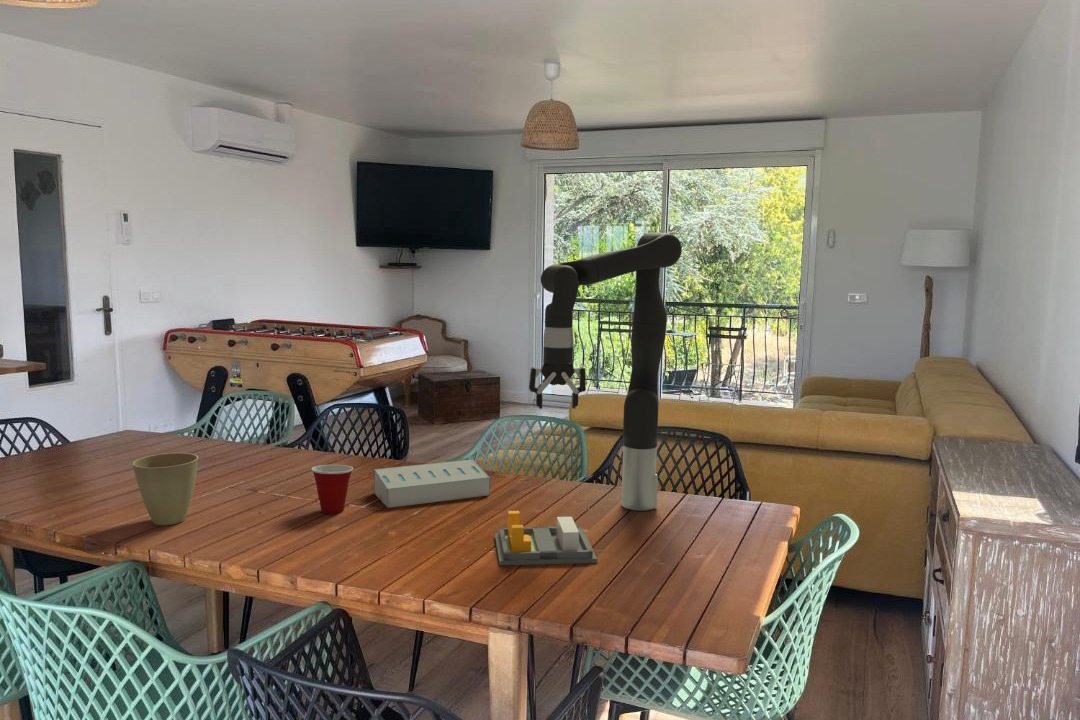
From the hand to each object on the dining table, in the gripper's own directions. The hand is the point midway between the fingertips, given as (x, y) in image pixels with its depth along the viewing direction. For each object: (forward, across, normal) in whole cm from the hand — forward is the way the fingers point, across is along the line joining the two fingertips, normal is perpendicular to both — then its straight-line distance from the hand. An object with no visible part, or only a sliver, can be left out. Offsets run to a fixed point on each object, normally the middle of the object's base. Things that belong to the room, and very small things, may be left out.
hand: (556, 408), depth 200 cm
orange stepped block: (+29, +11, +19) cm, 37 cm away
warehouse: (+31, +32, -26) cm, 52 cm away
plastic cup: (+30, +58, -13) cm, 67 cm away
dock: (+30, +5, +19) cm, 36 cm away
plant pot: (+30, +98, -7) cm, 103 cm away
